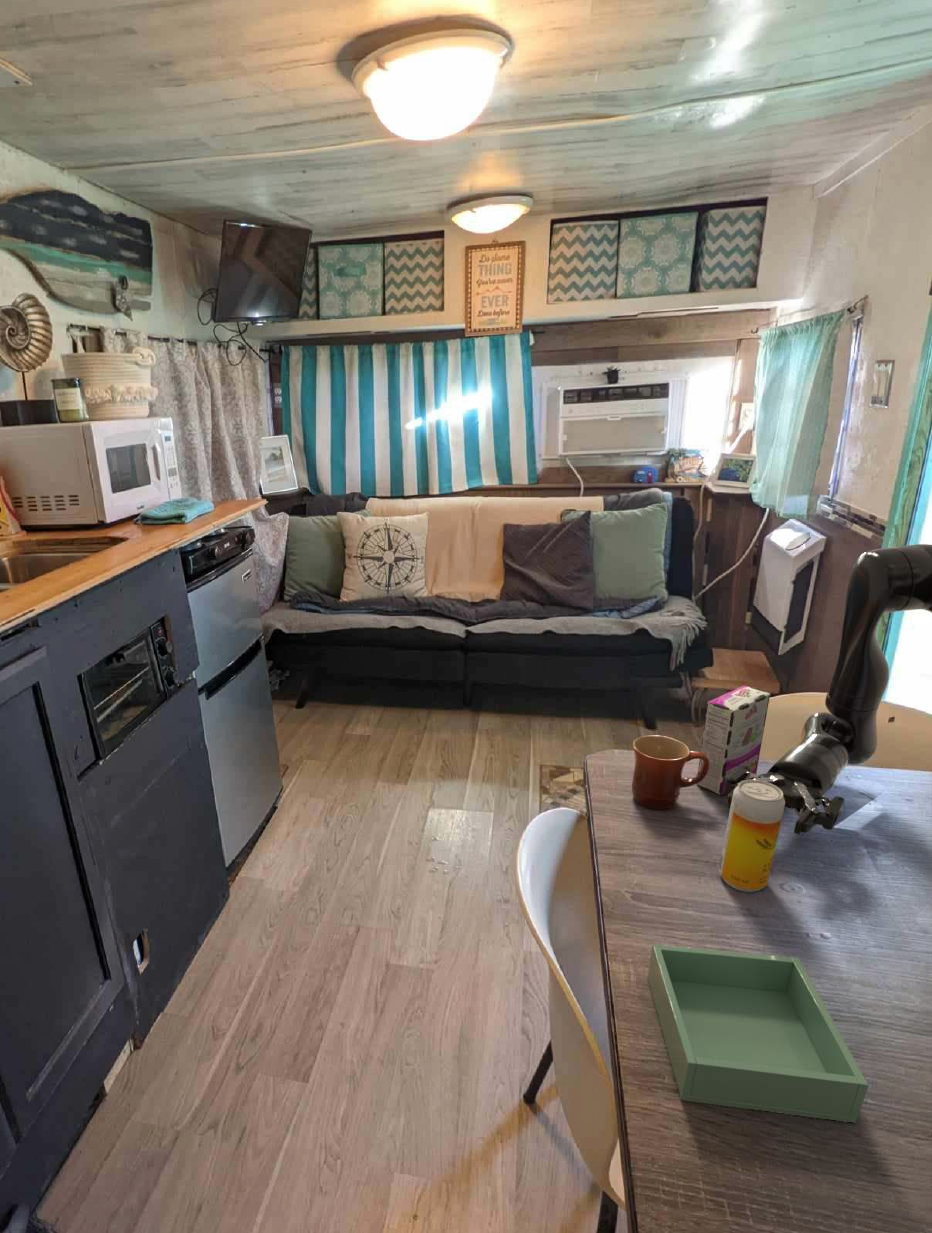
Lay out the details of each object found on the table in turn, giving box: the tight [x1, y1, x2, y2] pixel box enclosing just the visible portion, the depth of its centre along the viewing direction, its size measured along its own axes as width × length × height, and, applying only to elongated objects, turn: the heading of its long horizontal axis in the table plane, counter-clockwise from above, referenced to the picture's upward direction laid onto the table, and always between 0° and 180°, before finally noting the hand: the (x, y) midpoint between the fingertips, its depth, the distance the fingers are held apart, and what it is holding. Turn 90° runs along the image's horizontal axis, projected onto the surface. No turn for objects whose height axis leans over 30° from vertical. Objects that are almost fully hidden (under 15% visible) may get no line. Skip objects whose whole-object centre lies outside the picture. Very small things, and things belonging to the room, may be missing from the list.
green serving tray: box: [647, 944, 869, 1124], centre depth 73 cm, size 16×16×5 cm
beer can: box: [718, 780, 785, 893], centre depth 95 cm, size 6×6×15 cm
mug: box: [631, 734, 709, 810], centre depth 115 cm, size 12×9×10 cm
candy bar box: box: [696, 685, 771, 796], centre depth 119 cm, size 11×5×16 cm, turn 122°
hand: (764, 815), depth 97 cm, fingers open, 8 cm apart
